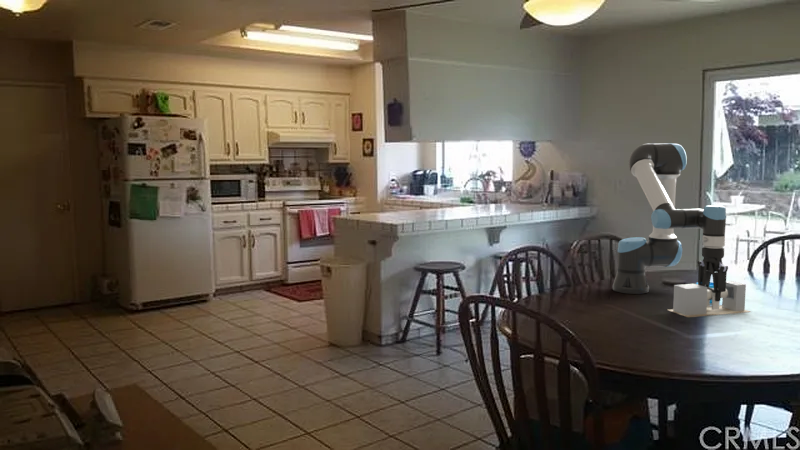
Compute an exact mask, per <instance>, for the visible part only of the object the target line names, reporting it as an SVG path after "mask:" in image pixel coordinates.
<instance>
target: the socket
mask: <svg viewBox="0 0 800 450" xmlns="http://www.w3.org/2000/svg"><path fill="white" fill-rule="evenodd" d="M746 287H747V285H746V284H745V283H741V282H737V281H732V280H729V281H727V280H726V289H727V291H728V296H727V297H726V298H721V299H722V300H721V305H722V307H724V308H727V309H730V310H733V311H745V310H746Z"/></svg>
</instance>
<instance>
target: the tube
mask: <svg viewBox="0 0 800 450" xmlns="http://www.w3.org/2000/svg"><path fill="white" fill-rule="evenodd" d="M712 291H714V288H707V299H709V300H712ZM727 296H728V291H727V289H726V291H725V292H721V299H722V298H726V297H727Z"/></svg>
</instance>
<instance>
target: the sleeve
mask: <svg viewBox="0 0 800 450" xmlns="http://www.w3.org/2000/svg"><path fill="white" fill-rule="evenodd" d="M707 288H708V287H705V286H701V285H697V284H696V283H685V284H673V306H672V307H673V308H672V309H673V311H675V312H677V313H680V314H683V315H697V314H706V311H707ZM677 313H676V314H677ZM680 314H679V315H680ZM683 315H682V316H683Z"/></svg>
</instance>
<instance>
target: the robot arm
mask: <svg viewBox="0 0 800 450" xmlns="http://www.w3.org/2000/svg"><path fill="white" fill-rule="evenodd" d="M687 159H688V157H687V153H686V150H685V149H684V147H683V146H682V145H681V144H679V143H672V142H670V143H669V142H668V143H643V144H641V145H638V146H637V147H635V148H634V150H633V151H631V153H630V156H629V159H628V168H629V171H630V173H631V175H632V176H633V177H635V178H636V179H637V181H638V183H639V186H640V187H641V189H642V191H643V193H644V194H645V197H646V199H647V201H648V204H649V206H650V207H651V209H652V213H651V216H650V220H651V224H652V232H651V233H650V234H649V235H648V240H647V239H646V238H645V237H641V236H638V237H636V236H635V237H634V236H633V237H627V238H623V239H621V240H619V241H618V243H617V244H618V245H617V249H616V250H617V268H616V274H615V278H614V281H613V283H612V290H613V291H614V292H617V293H620V294H621V293H622V294H628V295H629V294H632V295H633V294H635V295H641V294H646V293H649V290H650V286H649V283H648V280H647V276H646V268H658V267H659V268H660V267H664V268H668V267H674V266H676V265H678V263H679V262H680V261H681V259H682V255H683V247H682V242H681V241H680V240H678V236H677V235H676V234H675V232H674V229H675V230H676V229H702V248H701V256H702V257H703V259H702V260H698V261H697V266H698V268H697V270H698V271H697V272H698V273H697V282H698V285H701V286H705V287H708V288H710V287H709V284H710V282H711V279H712V282H713V286H714V291H712V303H710V300H709V299H707V306H712V310H716V309H719V305H720V301H721V299H722V298H721V292H725V291H726V281H727V272H728V270H729V267H728V265H724V264H723V260H722V259H723V258H724V257H725V248H724V247H725V245H726V244H725V243H726V242H725V241H726V223H727V222H726V221H727V215H726V214H727V212H726V211H727V209H726V207H725V206H724V205H713V204H712V205H710V204H709V205H705V206H704V207H703V208H701V207H698V208H697V207H696V208H695V207H694V208H681V209H680V208H677V209H676V191H677V187H676V186H677V179H678V178H679V177H680V176H681V171H683V170H685V169H686V166H687V162H688V161H687Z"/></svg>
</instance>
